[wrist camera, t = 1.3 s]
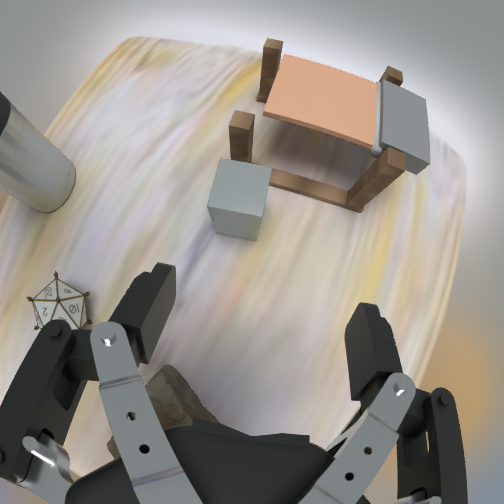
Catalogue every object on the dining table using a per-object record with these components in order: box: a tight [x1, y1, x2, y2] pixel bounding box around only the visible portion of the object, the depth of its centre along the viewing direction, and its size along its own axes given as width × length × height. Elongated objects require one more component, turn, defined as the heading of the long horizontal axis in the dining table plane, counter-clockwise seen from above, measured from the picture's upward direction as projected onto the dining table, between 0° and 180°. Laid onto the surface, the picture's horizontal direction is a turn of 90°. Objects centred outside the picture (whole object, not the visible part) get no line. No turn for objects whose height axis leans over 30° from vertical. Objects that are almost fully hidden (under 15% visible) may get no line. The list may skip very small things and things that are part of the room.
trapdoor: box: [263, 54, 430, 175], centre depth 27 cm, size 18×11×3 cm, turn 75°
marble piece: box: [107, 365, 220, 459], centre depth 28 cm, size 17×15×4 cm
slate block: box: [207, 158, 272, 241], centre depth 31 cm, size 5×5×10 cm
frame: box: [229, 38, 405, 213], centre depth 31 cm, size 18×15×13 cm
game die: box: [26, 271, 92, 330], centre depth 29 cm, size 9×8×10 cm
